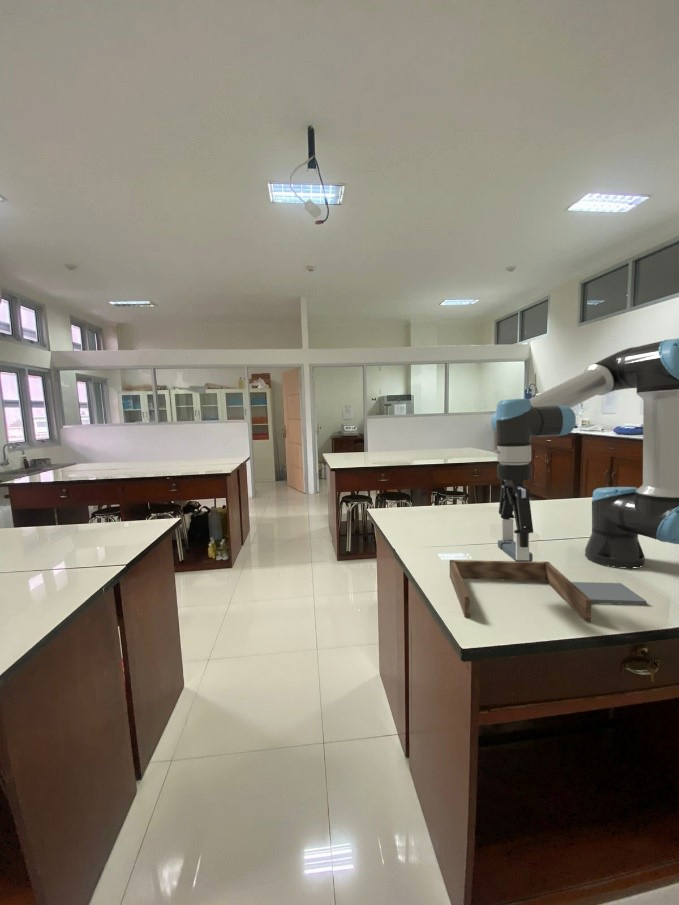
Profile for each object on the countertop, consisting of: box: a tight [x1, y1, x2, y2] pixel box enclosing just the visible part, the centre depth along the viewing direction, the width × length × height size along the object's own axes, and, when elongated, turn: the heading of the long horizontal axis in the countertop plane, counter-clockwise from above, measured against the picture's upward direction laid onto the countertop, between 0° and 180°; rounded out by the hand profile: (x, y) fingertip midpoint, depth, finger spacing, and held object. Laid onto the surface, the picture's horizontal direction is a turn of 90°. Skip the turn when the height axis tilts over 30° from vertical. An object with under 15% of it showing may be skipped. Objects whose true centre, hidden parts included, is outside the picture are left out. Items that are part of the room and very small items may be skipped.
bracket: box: [497, 539, 534, 562], centre depth 92 cm, size 4×10×2 cm, turn 0°
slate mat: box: [571, 581, 647, 605], centre depth 94 cm, size 14×10×1 cm
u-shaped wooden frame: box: [449, 559, 593, 623], centre depth 95 cm, size 27×23×5 cm
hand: (514, 551), depth 92 cm, fingers closed on bracket, 11 cm apart
